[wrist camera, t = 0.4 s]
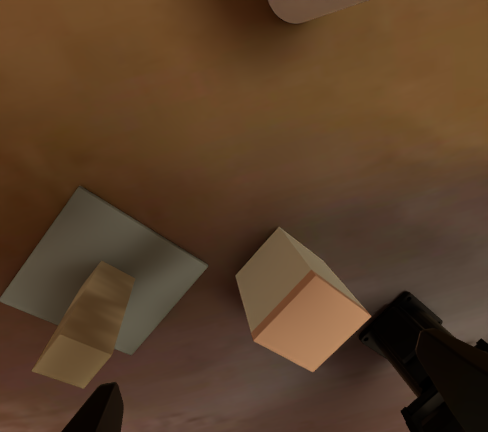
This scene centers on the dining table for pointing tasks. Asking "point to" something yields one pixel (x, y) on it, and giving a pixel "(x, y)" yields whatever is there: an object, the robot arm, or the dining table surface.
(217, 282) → the dining table surface
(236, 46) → the dining table surface
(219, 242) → the dining table surface
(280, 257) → the cream orange-topped box
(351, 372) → the dining table surface
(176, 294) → the grey flat square slab
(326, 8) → the smoothie
